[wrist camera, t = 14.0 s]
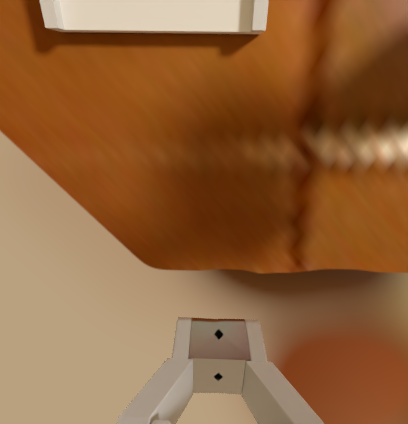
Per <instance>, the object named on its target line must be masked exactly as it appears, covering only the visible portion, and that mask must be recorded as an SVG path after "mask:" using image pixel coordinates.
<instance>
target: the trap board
mask: <svg viewBox="0 0 408 424" xmlns="http://www.w3.org/2000/svg"><path fill="white" fill-rule="evenodd" d="M268 1H269V0H40V5H41V10H42V14H43V19H44V24H45V28H48V29H51V30H55V31H59V32H103V33H192V34H262V33H263V32H264V31H265V30H266V22H267V12H268Z"/></svg>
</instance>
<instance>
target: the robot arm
mask: <svg viewBox="0 0 408 424" xmlns="http://www.w3.org/2000/svg"><path fill="white" fill-rule="evenodd" d="M193 393H228V394H242V397H243V399H244V401H245V402H246V404H247V406H248V408H249V409H250V411H251V413H252V414H253V416H254V418H255V419H256V421H257V423H258V424H324V423H323V422H322V421H321V419H320V418H319V417H318V416H317V414H315V412H314V411H313V410H312V409H311V407H310V406H309V405H308V404H307V403H306V402H305V400H304V399H303V398H302V397H301V396H300V395H299V393H298V392H297V391H296V390H295V389H294V388H293V386H291V384H290V383H289V382H288V381H287V379H286V378H285V377H284V376H283V375H282V373H281V372H280V371H279V370H278V369H277V368H276V367H275V366H274V364H273V363H272V362H267V357H266V352H265V347H264V341H263V336H262V331H261V326H260V322H259V321H258V320H244V319H204V318H183V317H178V320H177V326H176V333H175V339H174V347H173V353H172V358H168V359H167V360H166V361H165V362H164V363H163V365H162V366H161V367H160V368H159V369H158V371H157V372H156V373H155V374H154V375H153V376H152V378H151V379H150V380H149V381H148V382H147V384H146V385H145V386H144V387H143V389H142V390H141V391H140V392H139V393H138V394H137V396H136V397H135V398H134V399H133V400H132V401H131V403H130V404H129V405H128V407H126V409H125V410H124V411H123V412H122V413H121V415H120V416H119V417H118V420H117V424H176V422H177V421H178V419H179V417H180V416H181V414H182V412H183V411H184V409H185V407H186V406H187V404H188V402H189V400H190V399H191V397H192V395H193Z"/></svg>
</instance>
